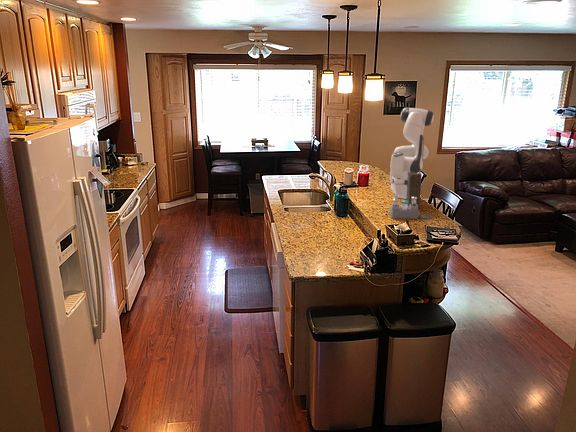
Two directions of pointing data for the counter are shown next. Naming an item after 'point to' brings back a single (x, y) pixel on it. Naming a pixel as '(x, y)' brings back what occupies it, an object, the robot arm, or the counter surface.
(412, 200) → the plunger
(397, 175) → the robot arm
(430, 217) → the mat
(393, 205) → the plunger
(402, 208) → the cartridge
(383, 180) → the counter surface
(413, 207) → the housing
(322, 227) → the counter surface
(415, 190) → the grey upright box
